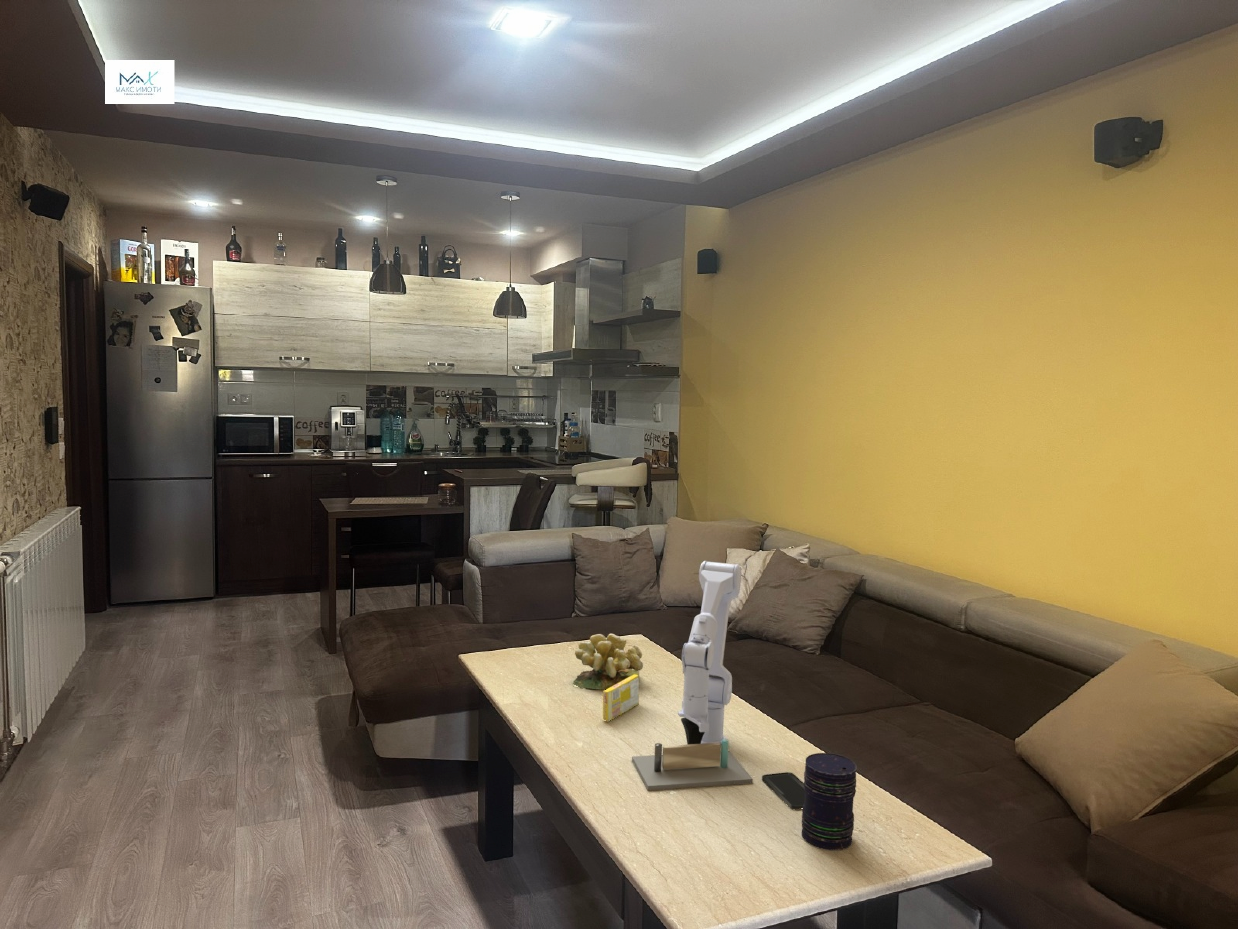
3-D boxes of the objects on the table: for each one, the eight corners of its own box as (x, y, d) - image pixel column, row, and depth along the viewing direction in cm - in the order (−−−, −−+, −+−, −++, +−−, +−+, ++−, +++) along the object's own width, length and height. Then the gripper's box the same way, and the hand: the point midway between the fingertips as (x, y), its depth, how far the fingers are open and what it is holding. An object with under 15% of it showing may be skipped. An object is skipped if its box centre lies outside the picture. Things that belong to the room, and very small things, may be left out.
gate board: (631, 760, 196) (632, 756, 196) (729, 754, 201) (729, 750, 201) (647, 790, 181) (647, 786, 181) (752, 783, 186) (752, 779, 186)
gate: (662, 767, 189) (662, 746, 189) (718, 764, 192) (719, 742, 192) (663, 769, 188) (664, 748, 188) (719, 766, 191) (720, 744, 191)
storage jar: (790, 836, 164) (794, 762, 163) (818, 819, 171) (822, 748, 170) (835, 857, 157) (840, 779, 156) (862, 839, 164) (867, 765, 163)
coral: (559, 679, 255) (555, 634, 252) (626, 662, 264) (624, 618, 261) (582, 706, 239) (578, 657, 235) (653, 686, 247) (651, 639, 244)
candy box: (632, 702, 233) (633, 673, 233) (639, 704, 232) (640, 675, 231) (601, 721, 219) (602, 690, 219) (608, 723, 218) (609, 691, 218)
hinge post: (653, 773, 189) (654, 743, 189) (659, 773, 190) (661, 743, 189) (654, 776, 188) (656, 746, 187) (661, 776, 188) (662, 746, 188)
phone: (791, 771, 191) (825, 803, 177) (791, 776, 191) (825, 808, 177) (759, 775, 189) (791, 806, 174) (759, 780, 189) (791, 812, 175)
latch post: (719, 769, 193) (720, 739, 192) (725, 769, 193) (727, 739, 192) (721, 772, 191) (722, 742, 191) (728, 772, 191) (729, 742, 191)
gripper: (670, 683, 201) (668, 738, 202) (688, 705, 187) (685, 764, 188) (698, 682, 202) (696, 737, 203) (718, 704, 188) (715, 762, 189)
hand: (693, 750), depth 196 cm, fingers closed
